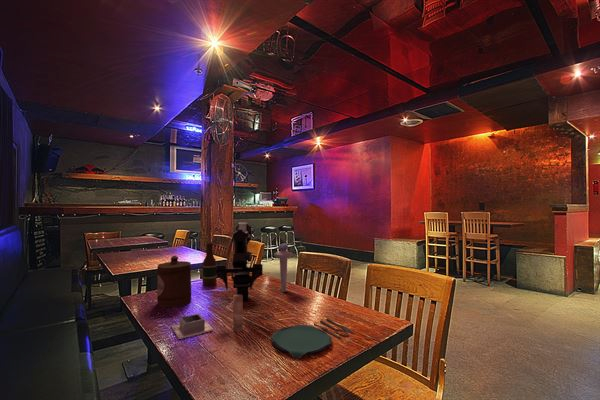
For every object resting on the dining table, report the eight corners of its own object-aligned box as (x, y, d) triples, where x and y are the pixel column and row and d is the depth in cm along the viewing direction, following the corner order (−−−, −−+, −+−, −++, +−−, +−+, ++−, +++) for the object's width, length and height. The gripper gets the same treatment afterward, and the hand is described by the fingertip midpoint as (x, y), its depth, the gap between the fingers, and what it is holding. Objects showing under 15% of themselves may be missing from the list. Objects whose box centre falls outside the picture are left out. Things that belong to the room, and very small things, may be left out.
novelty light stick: (287, 295, 146) (287, 246, 146) (270, 292, 151) (270, 245, 151) (296, 289, 155) (296, 243, 155) (280, 287, 160) (280, 242, 160)
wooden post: (231, 328, 108) (231, 295, 108) (240, 326, 110) (240, 293, 110) (235, 332, 105) (235, 298, 105) (244, 329, 107) (244, 296, 107)
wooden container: (160, 298, 142) (160, 254, 142) (192, 295, 146) (192, 252, 146) (154, 309, 128) (154, 259, 128) (189, 306, 132) (189, 258, 132)
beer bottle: (219, 283, 169) (219, 242, 169) (211, 286, 161) (211, 244, 162) (208, 281, 171) (208, 241, 171) (199, 285, 164) (199, 243, 164)
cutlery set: (260, 340, 99) (261, 333, 99) (325, 320, 117) (325, 314, 117) (294, 367, 84) (294, 359, 84) (363, 339, 102) (363, 332, 102)
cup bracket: (171, 327, 109) (171, 317, 109) (203, 320, 116) (203, 310, 116) (178, 340, 99) (178, 328, 99) (213, 331, 106) (213, 320, 106)
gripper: (216, 245, 117) (212, 279, 106) (262, 244, 120) (263, 277, 109) (218, 260, 125) (215, 294, 114) (262, 259, 128) (262, 292, 117)
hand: (238, 289), depth 113 cm, fingers open, 9 cm apart
